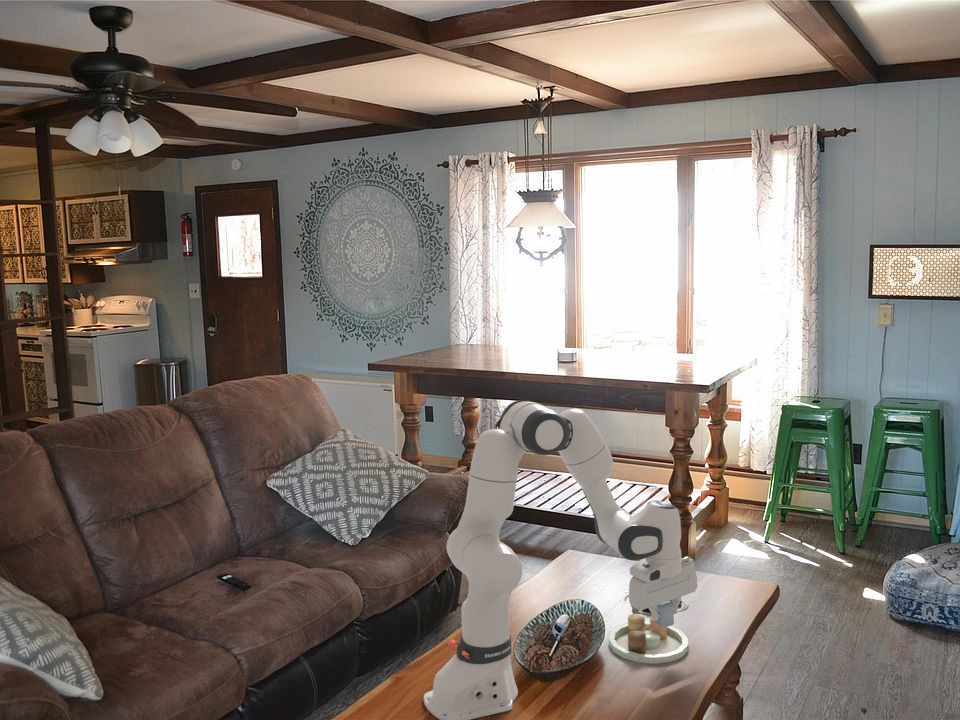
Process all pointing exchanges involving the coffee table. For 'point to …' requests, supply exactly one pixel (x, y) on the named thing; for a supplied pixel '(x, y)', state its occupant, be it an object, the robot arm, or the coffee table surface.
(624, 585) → the coffee table surface
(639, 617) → the honey oak bead
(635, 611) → the salad plate
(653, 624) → the terracotta bead
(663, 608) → the slate-blue bead
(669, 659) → the ring dish
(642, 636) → the walnut bead
